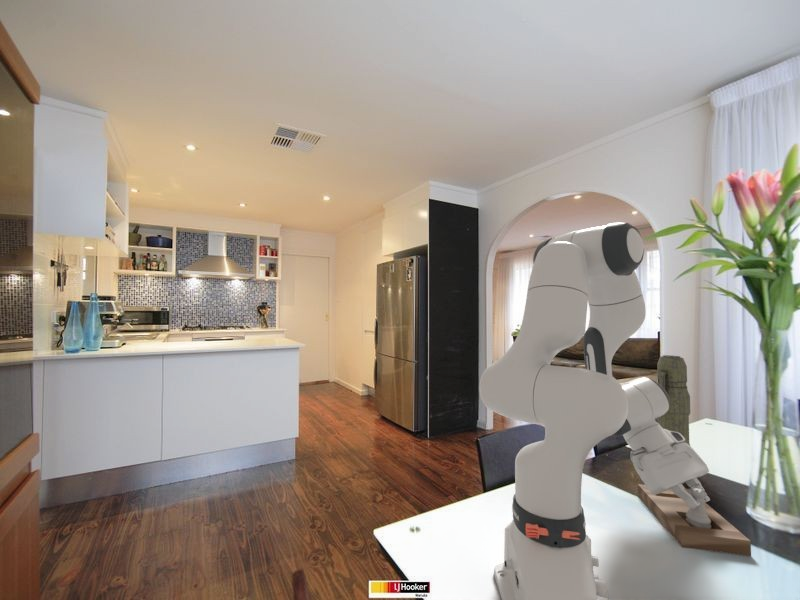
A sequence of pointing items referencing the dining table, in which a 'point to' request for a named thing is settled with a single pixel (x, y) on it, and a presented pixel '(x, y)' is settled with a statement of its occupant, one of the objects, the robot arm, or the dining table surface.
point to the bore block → (710, 539)
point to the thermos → (675, 394)
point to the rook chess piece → (698, 509)
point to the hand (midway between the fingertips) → (701, 504)
